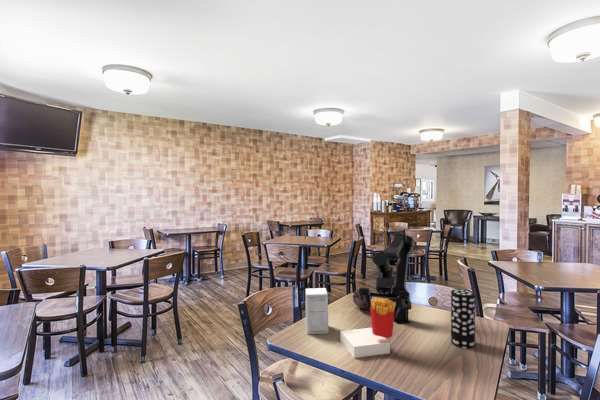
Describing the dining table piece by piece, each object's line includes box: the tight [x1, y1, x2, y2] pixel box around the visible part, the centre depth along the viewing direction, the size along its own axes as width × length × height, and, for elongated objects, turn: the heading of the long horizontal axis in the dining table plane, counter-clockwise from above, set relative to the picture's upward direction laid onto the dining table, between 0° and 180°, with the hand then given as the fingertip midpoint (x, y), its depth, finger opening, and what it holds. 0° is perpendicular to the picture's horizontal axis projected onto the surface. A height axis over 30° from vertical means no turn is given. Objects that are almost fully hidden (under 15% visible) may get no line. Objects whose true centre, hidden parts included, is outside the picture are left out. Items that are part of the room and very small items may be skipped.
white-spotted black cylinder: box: [450, 288, 476, 350], centre depth 127 cm, size 8×8×20 cm
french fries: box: [370, 297, 396, 339], centre depth 122 cm, size 9×4×13 cm, turn 63°
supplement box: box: [304, 287, 329, 335], centre depth 142 cm, size 10×9×17 cm
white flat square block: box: [339, 327, 391, 359], centre depth 126 cm, size 14×14×4 cm
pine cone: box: [352, 288, 373, 309], centre depth 168 cm, size 18×10×10 cm, turn 165°
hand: (382, 316), depth 121 cm, fingers closed on french fries, 8 cm apart
